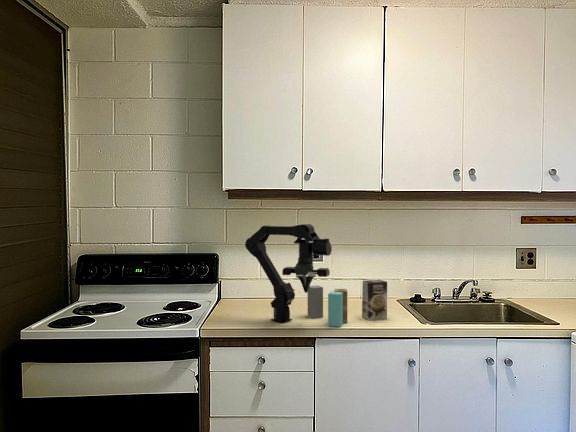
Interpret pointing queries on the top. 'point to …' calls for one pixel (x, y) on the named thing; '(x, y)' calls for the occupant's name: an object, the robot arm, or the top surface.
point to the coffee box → (374, 299)
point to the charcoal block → (315, 301)
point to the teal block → (335, 309)
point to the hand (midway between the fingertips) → (306, 292)
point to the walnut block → (344, 303)
